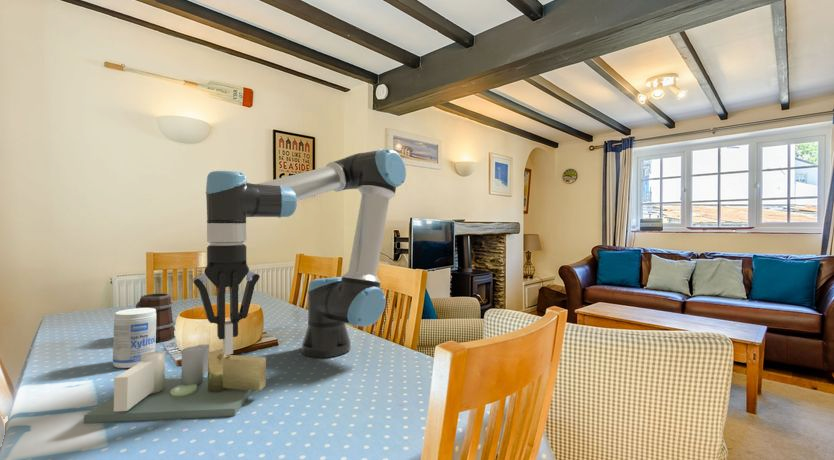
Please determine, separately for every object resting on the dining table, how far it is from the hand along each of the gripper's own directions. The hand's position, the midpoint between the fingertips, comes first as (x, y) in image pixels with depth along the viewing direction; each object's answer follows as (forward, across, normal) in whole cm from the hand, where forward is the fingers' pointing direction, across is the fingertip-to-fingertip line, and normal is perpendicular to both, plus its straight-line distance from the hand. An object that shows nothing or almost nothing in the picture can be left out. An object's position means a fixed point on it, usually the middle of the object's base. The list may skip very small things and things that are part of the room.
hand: (228, 352), depth 79 cm
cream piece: (+10, +15, -10) cm, 20 cm away
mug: (+12, +12, -67) cm, 70 cm away
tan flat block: (+10, -2, -4) cm, 11 cm away
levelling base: (+12, +8, -9) cm, 16 cm away
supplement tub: (+12, +16, -42) cm, 47 cm away
